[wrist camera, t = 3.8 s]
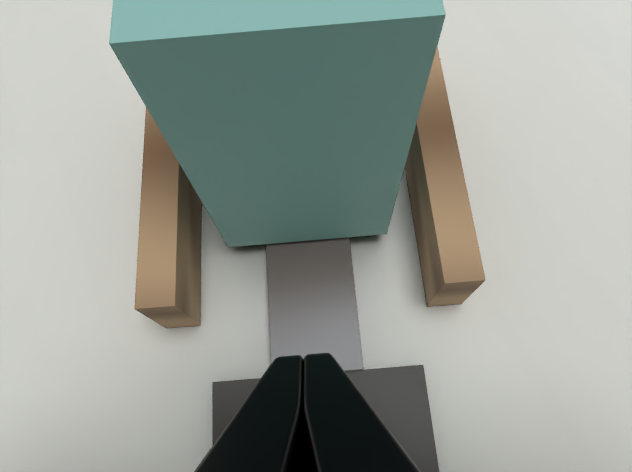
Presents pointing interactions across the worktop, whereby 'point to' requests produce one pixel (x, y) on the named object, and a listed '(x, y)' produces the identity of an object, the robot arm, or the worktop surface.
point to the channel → (319, 272)
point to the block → (284, 105)
